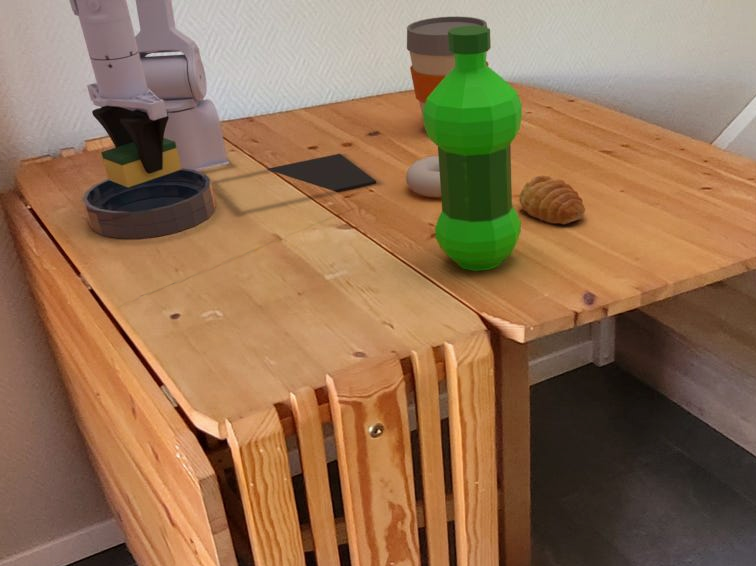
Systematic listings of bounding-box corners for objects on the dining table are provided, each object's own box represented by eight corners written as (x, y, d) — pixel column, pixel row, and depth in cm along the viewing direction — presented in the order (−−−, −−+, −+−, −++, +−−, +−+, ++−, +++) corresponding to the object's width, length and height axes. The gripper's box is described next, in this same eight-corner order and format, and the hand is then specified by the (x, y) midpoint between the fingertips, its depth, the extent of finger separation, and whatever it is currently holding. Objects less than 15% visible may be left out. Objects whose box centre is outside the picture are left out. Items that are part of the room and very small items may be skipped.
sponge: (162, 162, 129) (155, 135, 126) (181, 169, 126) (175, 141, 124) (108, 180, 124) (100, 151, 122) (128, 187, 122) (120, 159, 119)
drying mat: (340, 156, 145) (339, 153, 145) (376, 183, 135) (376, 180, 135) (210, 183, 138) (209, 180, 138) (238, 214, 129) (237, 211, 128)
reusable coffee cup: (445, 112, 161) (439, 13, 151) (507, 122, 155) (505, 20, 145) (397, 133, 153) (387, 30, 144) (460, 145, 147) (455, 39, 138)
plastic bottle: (463, 238, 119) (450, 16, 104) (539, 253, 115) (537, 23, 99) (418, 269, 112) (398, 37, 97) (497, 286, 108) (489, 46, 92)
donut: (395, 185, 135) (425, 206, 128) (392, 160, 133) (423, 180, 125) (459, 171, 138) (492, 191, 131) (457, 147, 136) (491, 165, 129)
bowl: (198, 187, 137) (192, 159, 135) (231, 225, 126) (224, 195, 123) (82, 212, 132) (73, 183, 129) (104, 253, 120) (95, 222, 118)
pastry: (598, 219, 122) (599, 189, 119) (554, 232, 119) (554, 202, 117) (555, 197, 128) (555, 168, 126) (513, 209, 126) (512, 180, 123)
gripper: (53, 53, 118) (86, 164, 126) (117, 70, 110) (147, 187, 118) (105, 41, 122) (133, 149, 130) (169, 56, 114) (195, 171, 122)
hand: (143, 166), depth 125 cm, fingers closed on sponge, 4 cm apart
